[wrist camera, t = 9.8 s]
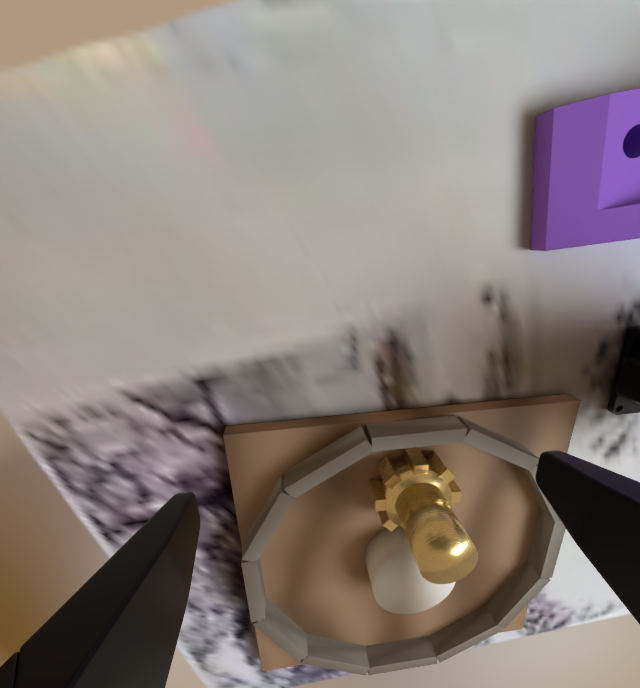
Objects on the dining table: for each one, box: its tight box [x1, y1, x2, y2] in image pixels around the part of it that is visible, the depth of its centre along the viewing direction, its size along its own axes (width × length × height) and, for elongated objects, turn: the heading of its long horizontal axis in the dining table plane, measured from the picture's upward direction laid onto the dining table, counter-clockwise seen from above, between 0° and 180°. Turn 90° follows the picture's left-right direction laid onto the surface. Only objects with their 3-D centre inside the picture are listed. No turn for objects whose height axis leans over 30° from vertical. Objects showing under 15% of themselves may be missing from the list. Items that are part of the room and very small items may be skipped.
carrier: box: [223, 394, 580, 675], centre depth 24 cm, size 24×24×4 cm
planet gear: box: [369, 447, 478, 584], centre depth 20 cm, size 6×6×6 cm
